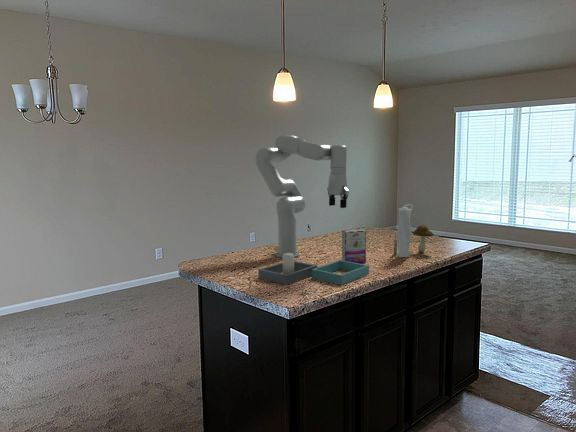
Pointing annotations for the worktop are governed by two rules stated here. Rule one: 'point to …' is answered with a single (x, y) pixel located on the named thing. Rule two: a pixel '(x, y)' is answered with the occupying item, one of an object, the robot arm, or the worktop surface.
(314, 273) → the bin
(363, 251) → the candy bar box
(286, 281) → the bin
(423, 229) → the mushroom
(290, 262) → the canister
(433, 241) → the worktop surface
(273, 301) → the worktop surface
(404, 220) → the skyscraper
